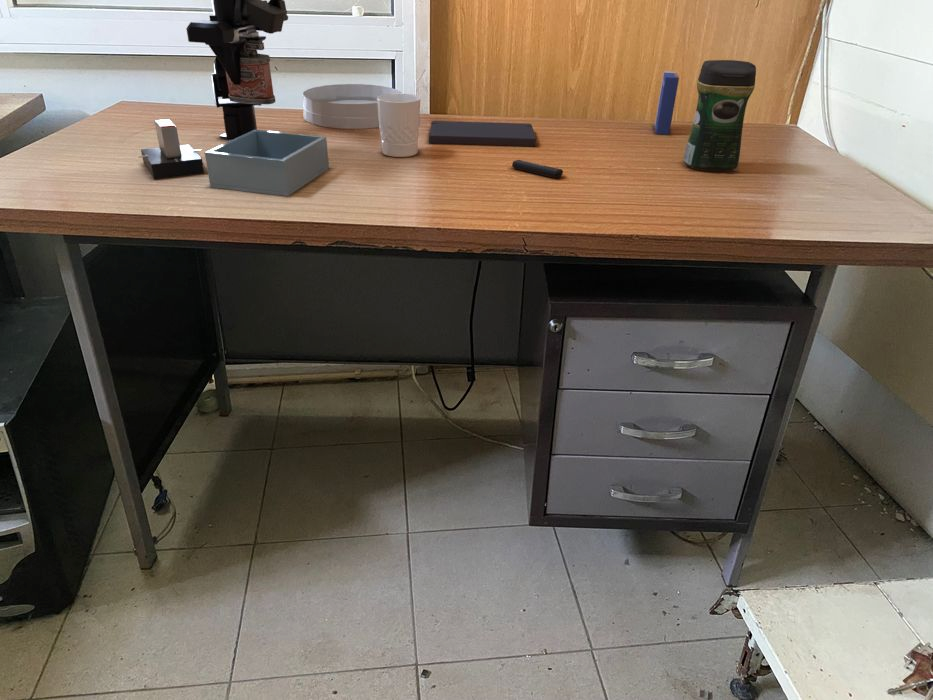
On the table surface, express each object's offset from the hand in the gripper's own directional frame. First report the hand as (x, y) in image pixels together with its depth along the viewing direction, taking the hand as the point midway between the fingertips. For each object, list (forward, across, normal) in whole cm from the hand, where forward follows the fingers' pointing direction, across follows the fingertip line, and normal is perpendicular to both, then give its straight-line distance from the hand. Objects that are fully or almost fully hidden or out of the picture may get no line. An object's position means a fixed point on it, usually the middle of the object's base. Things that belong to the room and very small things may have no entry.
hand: (241, 83), depth 119 cm
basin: (+13, -8, -8) cm, 18 cm away
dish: (+13, +38, -4) cm, 40 cm away
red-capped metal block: (+11, -9, +10) cm, 17 cm away
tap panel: (+13, -9, +10) cm, 19 cm away
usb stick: (+13, +10, -50) cm, 53 cm away
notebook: (+13, +31, -35) cm, 49 cm away
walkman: (+13, +51, -71) cm, 89 cm away
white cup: (+13, +14, -23) cm, 30 cm away
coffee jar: (+13, +25, -80) cm, 85 cm away
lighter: (+3, +1, -1) cm, 3 cm away
